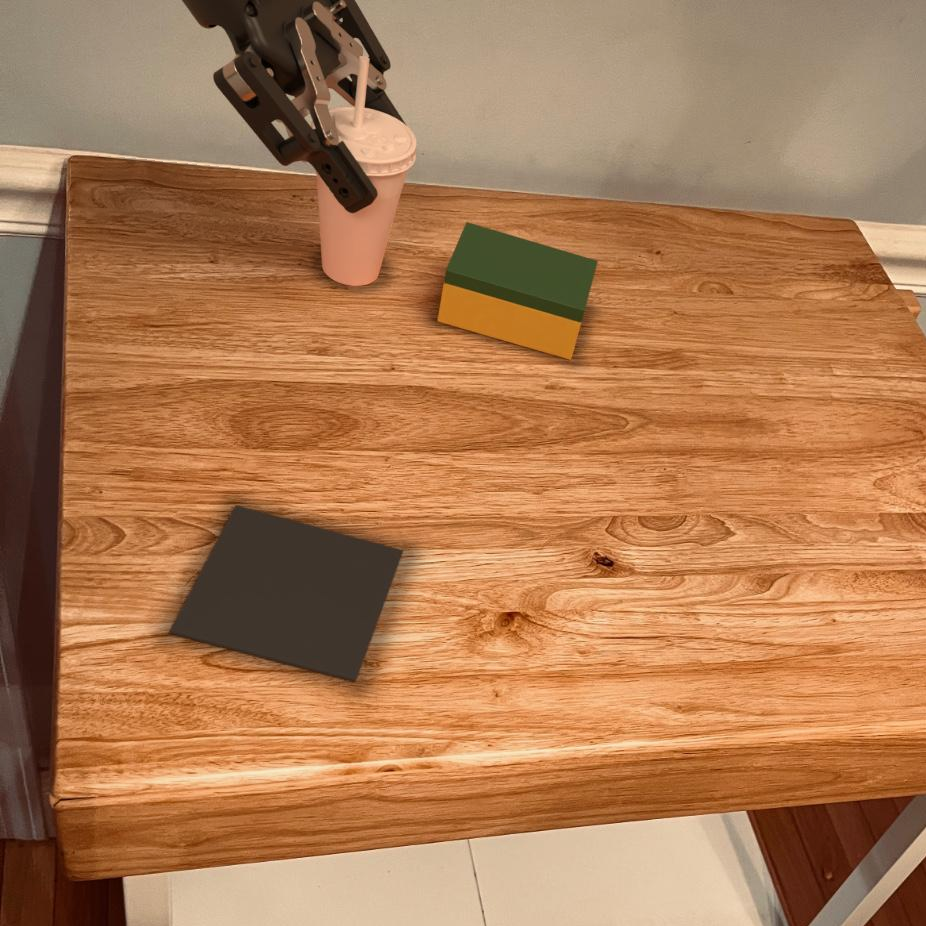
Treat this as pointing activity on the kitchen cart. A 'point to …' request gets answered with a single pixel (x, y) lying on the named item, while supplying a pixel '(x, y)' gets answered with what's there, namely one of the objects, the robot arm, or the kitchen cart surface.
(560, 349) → the scrubber
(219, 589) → the cloth
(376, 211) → the smoothie
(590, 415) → the kitchen cart surface
